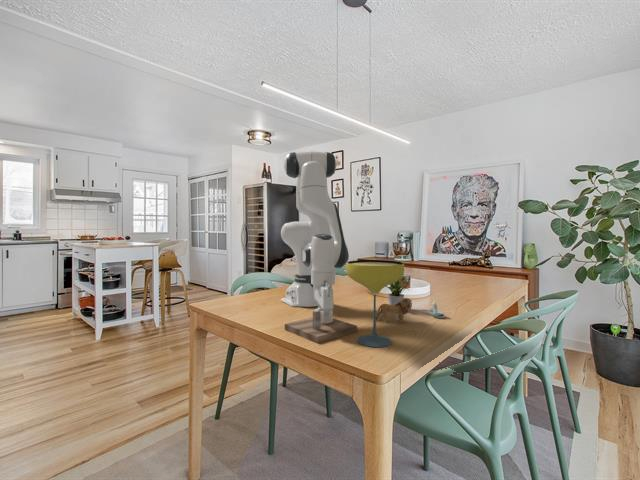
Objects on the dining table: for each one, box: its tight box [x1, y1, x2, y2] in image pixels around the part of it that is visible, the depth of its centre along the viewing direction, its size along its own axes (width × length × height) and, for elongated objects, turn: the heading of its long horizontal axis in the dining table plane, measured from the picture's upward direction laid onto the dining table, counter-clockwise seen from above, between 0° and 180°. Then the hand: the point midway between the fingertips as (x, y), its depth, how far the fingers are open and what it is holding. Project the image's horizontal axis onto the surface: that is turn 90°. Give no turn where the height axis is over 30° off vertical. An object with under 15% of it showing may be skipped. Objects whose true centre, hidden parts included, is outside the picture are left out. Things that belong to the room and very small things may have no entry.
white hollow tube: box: [314, 307, 334, 323], centre depth 120 cm, size 6×6×4 cm
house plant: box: [385, 276, 412, 305], centre depth 144 cm, size 14×14×16 cm
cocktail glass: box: [345, 259, 405, 348], centre depth 103 cm, size 18×18×25 cm
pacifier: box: [428, 300, 447, 319], centre depth 133 cm, size 7×6×6 cm
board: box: [284, 310, 358, 344], centre depth 115 cm, size 18×18×8 cm
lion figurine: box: [376, 297, 413, 324], centre depth 126 cm, size 15×5×9 cm, turn 92°
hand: (323, 316), depth 119 cm, fingers open, 8 cm apart
